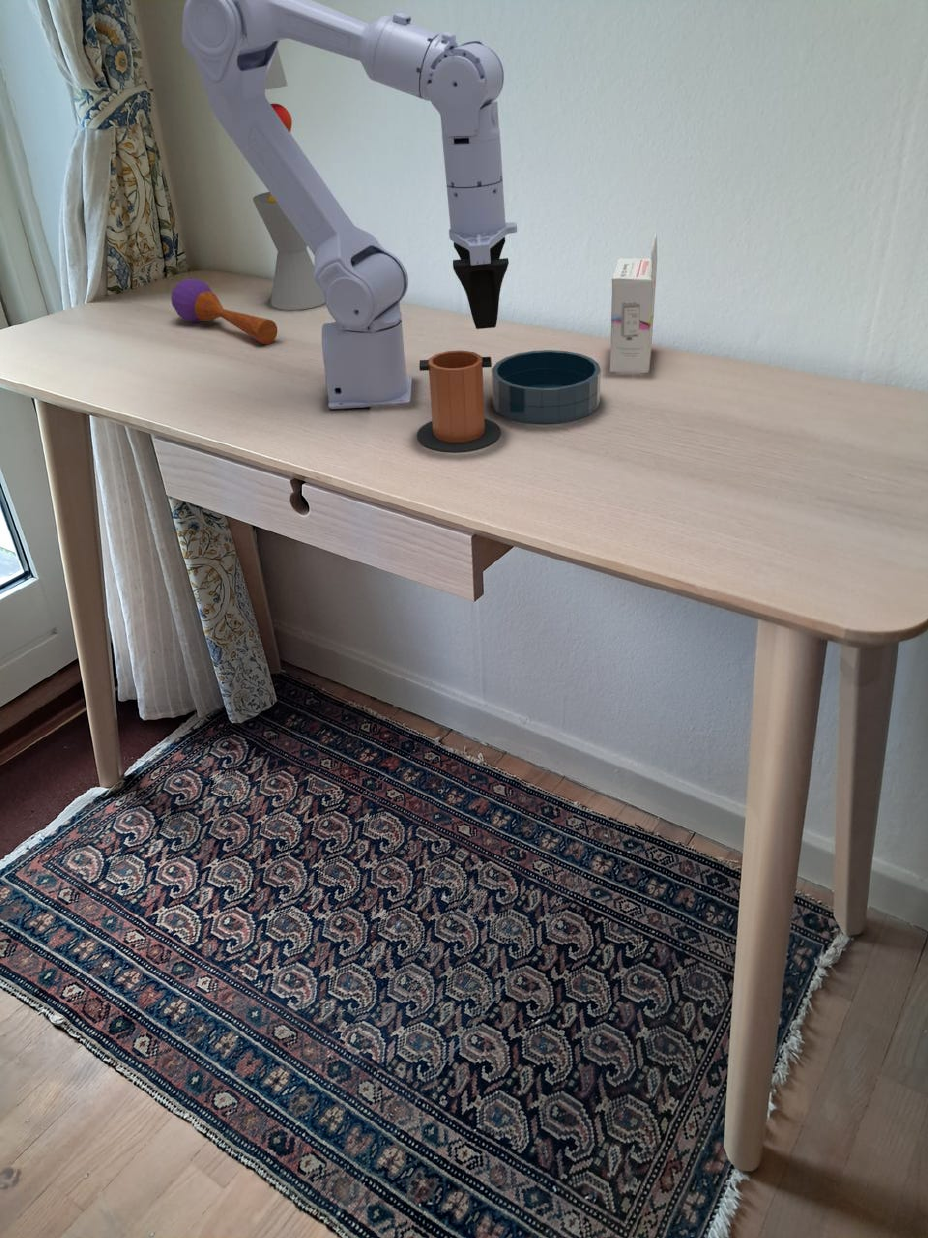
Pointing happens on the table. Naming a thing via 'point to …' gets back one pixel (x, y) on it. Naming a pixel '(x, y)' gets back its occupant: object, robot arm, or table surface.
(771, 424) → the table surface
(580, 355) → the blue shallow round container
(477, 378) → the small pot
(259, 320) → the maraca
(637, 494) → the table surface
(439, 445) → the disc
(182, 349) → the table surface
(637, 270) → the ink cartridge box
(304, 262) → the lava lamp
